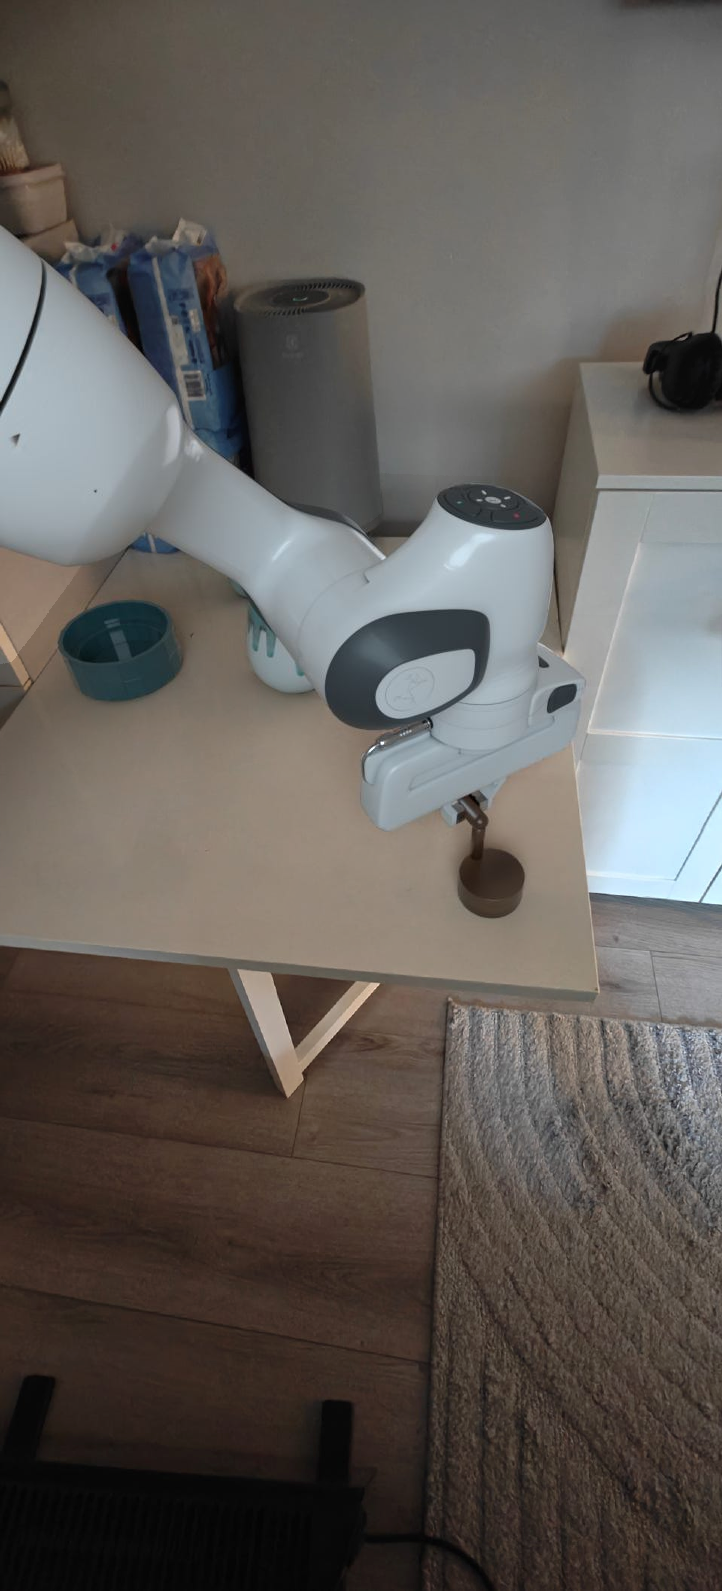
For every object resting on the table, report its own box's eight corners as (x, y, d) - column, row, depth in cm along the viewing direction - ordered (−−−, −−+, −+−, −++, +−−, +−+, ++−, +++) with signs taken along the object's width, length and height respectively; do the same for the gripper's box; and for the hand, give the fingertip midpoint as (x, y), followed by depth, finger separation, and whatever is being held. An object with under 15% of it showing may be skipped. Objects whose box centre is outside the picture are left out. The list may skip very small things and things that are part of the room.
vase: (331, 641, 98) (319, 514, 85) (353, 694, 90) (343, 563, 77) (246, 658, 97) (220, 531, 83) (261, 714, 89) (235, 583, 76)
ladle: (534, 900, 69) (546, 842, 62) (482, 929, 67) (489, 872, 60) (426, 778, 80) (427, 718, 74) (379, 800, 78) (375, 740, 72)
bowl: (131, 717, 90) (117, 678, 85) (51, 683, 95) (33, 645, 91) (204, 654, 98) (194, 616, 93) (126, 627, 103) (113, 589, 99)
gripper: (381, 772, 52) (386, 885, 62) (603, 674, 58) (574, 791, 68) (340, 722, 56) (351, 836, 66) (552, 634, 62) (532, 752, 72)
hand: (466, 813), depth 67 cm, fingers closed on ladle
